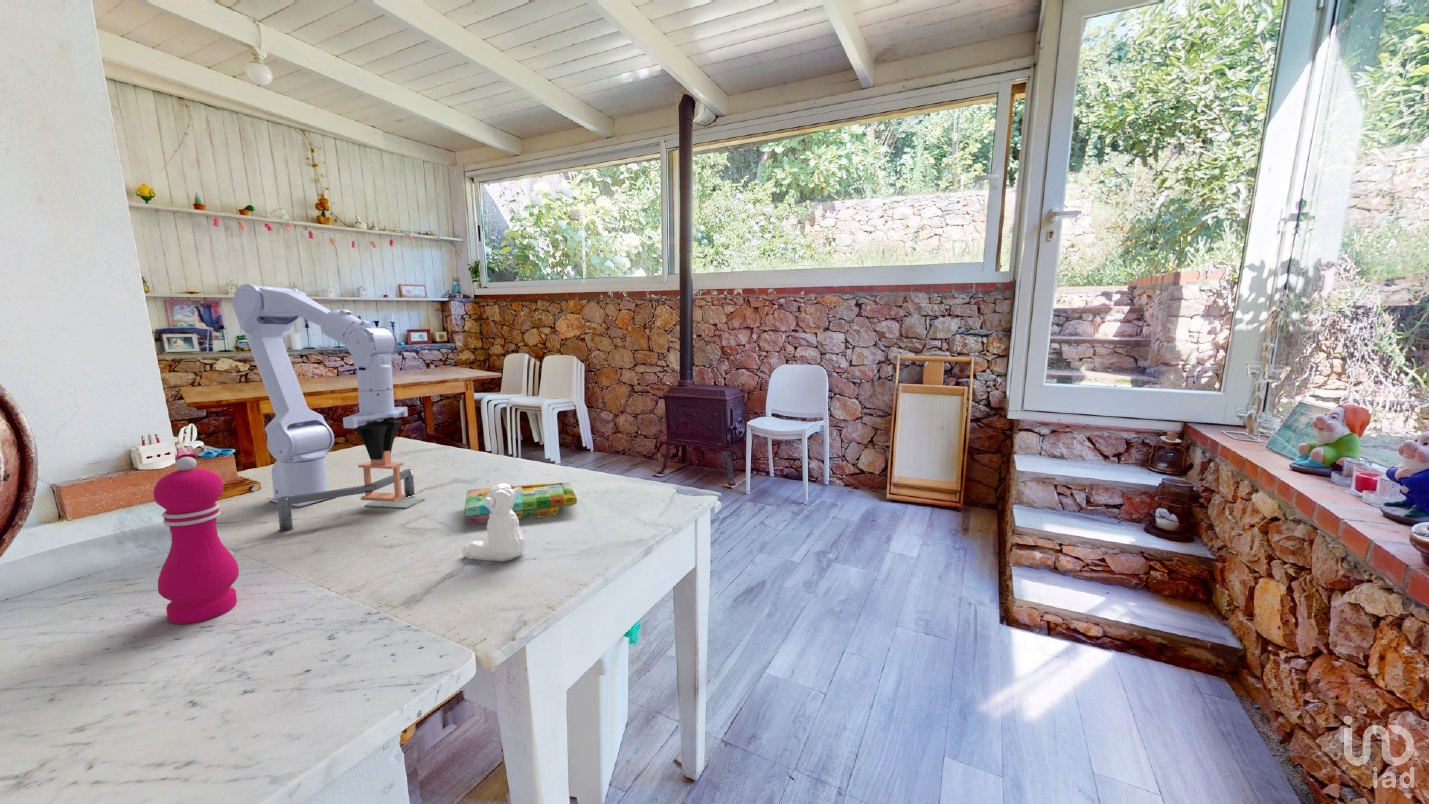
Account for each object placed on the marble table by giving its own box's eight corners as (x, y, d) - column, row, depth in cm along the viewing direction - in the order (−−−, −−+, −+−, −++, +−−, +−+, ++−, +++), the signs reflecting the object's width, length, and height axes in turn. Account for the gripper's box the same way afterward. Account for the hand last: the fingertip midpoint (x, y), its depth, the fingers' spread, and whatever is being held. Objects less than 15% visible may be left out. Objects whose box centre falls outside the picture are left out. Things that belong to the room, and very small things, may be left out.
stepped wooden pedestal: (394, 501, 101) (391, 453, 100) (360, 500, 102) (357, 452, 101) (405, 496, 104) (402, 450, 103) (373, 495, 105) (369, 449, 104)
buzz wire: (277, 530, 91) (274, 499, 90) (400, 492, 113) (398, 467, 113) (306, 537, 89) (303, 504, 88) (426, 497, 111) (425, 471, 110)
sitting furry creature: (513, 538, 90) (511, 471, 89) (544, 551, 85) (542, 480, 84) (460, 557, 82) (457, 484, 81) (491, 572, 78) (488, 495, 76)
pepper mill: (171, 634, 60) (150, 467, 58) (154, 615, 64) (134, 458, 62) (251, 607, 66) (235, 455, 64) (231, 591, 70) (215, 447, 68)
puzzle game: (467, 486, 105) (568, 477, 112) (468, 508, 105) (569, 498, 113) (464, 504, 94) (576, 493, 102) (465, 529, 95) (576, 516, 102)
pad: (406, 508, 104) (406, 507, 104) (364, 506, 104) (364, 505, 104) (424, 499, 109) (424, 498, 109) (384, 497, 110) (384, 496, 110)
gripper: (366, 394, 93) (371, 468, 95) (419, 386, 107) (423, 450, 109) (330, 393, 93) (335, 466, 95) (387, 385, 108) (391, 449, 110)
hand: (380, 457), depth 102 cm, fingers closed on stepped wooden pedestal, 2 cm apart
